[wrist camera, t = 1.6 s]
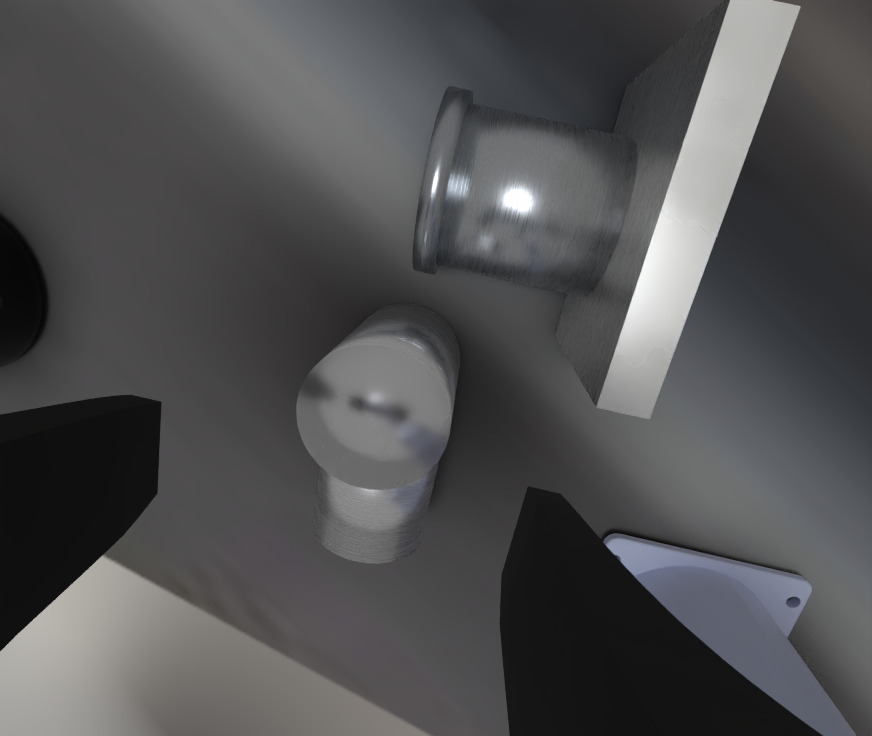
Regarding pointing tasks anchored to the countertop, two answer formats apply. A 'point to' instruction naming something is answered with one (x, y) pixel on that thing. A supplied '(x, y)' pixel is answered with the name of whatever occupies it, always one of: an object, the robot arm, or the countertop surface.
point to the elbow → (379, 430)
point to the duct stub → (608, 197)
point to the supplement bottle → (17, 297)
